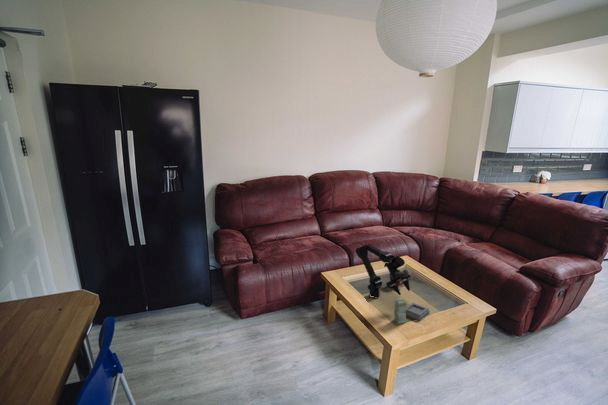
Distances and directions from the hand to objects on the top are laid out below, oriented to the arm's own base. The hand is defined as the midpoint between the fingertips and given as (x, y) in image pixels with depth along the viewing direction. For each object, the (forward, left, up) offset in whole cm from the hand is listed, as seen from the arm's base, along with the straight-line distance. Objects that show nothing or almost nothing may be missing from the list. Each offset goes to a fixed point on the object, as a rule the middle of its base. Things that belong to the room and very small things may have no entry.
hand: (404, 292), depth 191 cm
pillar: (-1, -12, -14) cm, 18 cm away
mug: (-12, +35, -14) cm, 40 cm away
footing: (+7, +1, -14) cm, 16 cm away
